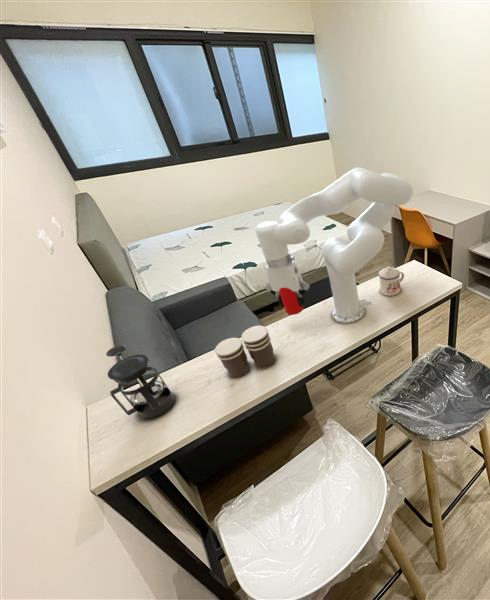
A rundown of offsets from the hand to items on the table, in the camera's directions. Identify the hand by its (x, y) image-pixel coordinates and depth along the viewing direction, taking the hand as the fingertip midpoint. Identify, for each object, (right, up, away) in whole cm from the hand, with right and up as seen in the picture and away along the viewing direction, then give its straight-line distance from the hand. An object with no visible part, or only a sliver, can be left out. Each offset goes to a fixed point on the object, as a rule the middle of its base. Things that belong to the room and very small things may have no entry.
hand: (293, 304), depth 115 cm
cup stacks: (-11, -20, -8) cm, 24 cm away
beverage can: (0, -3, +2) cm, 3 cm away
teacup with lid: (+35, +6, +27) cm, 45 cm away
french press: (-34, -30, -20) cm, 50 cm away
